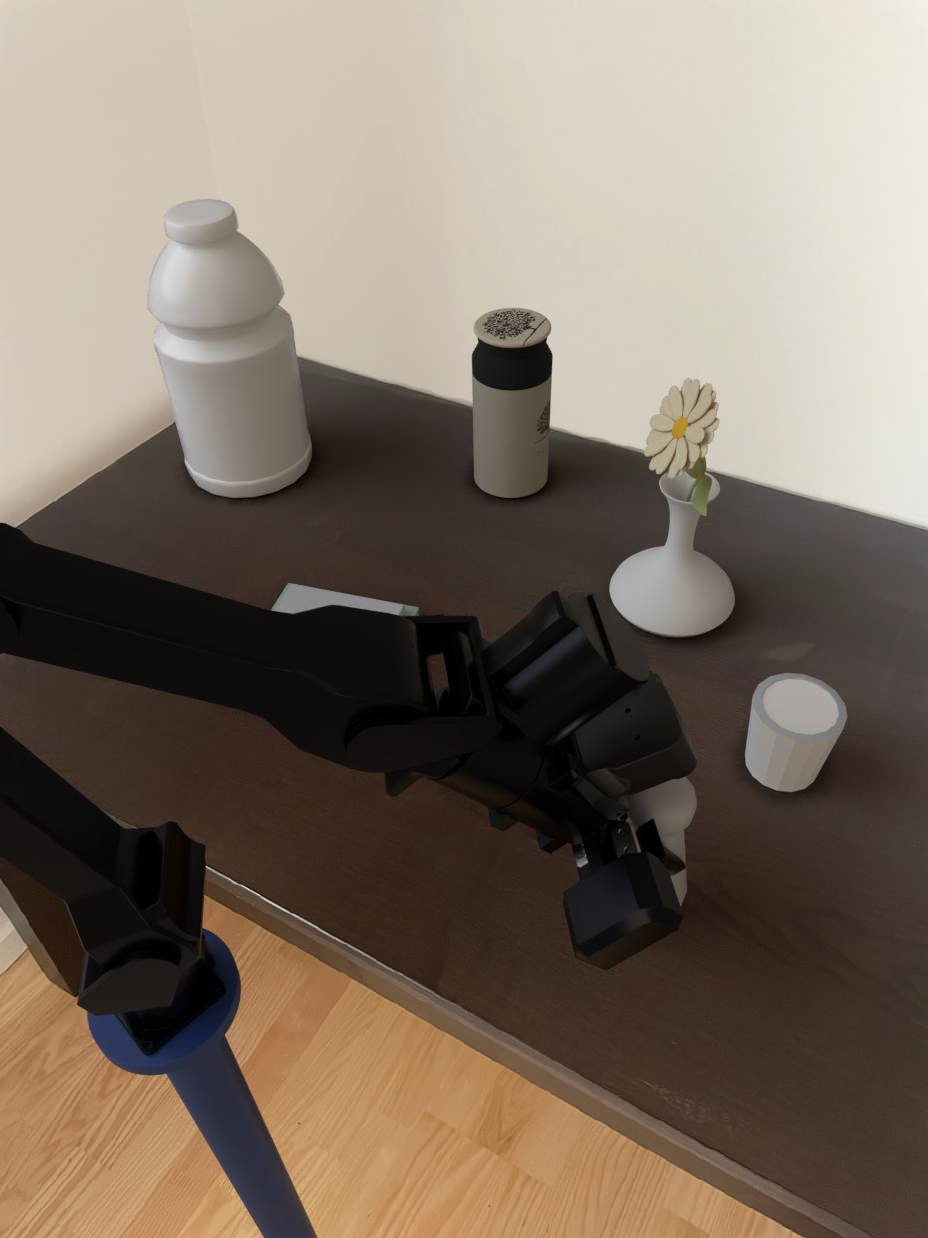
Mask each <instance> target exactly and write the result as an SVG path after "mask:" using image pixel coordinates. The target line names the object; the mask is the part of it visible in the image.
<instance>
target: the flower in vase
mask: <svg viewBox="0 0 928 1238" xmlns="http://www.w3.org/2000/svg"><path fill="white" fill-rule="evenodd" d="M716 398H717V392H716V390H715V389H714V390H713V384H712V383H708V382H706V383H704V384H703V385H702V386H701V383H700V380H699V378H694V379H693V380H692V379H691V378H690V377H687V378H685V379H684V380H683V382H682V385H681V387H680V389H679V387H678V386H677V385H672V386H670V388H669V390H668V392H667V395H666V396H664V397H663V398H662V400H661V405H660V406H659V413H657V414H656V413H655V414H654V415H652V416H651V418H650V420H649V425H650V427H651V430H650V431H649V434H648V435H647V437H646V439H645V443H646V445H647V446H645V448H644V451H643V454H644V456H645V458H649V457H652V458H651V460H650V462H649V465H648V469H649V470H650V471H653V472H654V471H655V473H656V475H660V474H663V473H664V472H665V471H666V472H665V473H664V474H663V475H662V476H661V477H660V478H659V483H658V484H659V488H660V492H662V494H663V495H664V497H665V498H666V500H667V503H668V508H669V527H668V534H667V539H666V542H665V544H664V545H660V546H654V547H650V548H647V549H644V550H642V551H639V552H637V553H635V554H632V555H631V556H629V557H627V558H626V559H625V560H623V561H622V562H621V563H619V565H618V567H617V569H616V570H615V572H614V573H613V574H612V576H611V579H610V582H609V596H610V599H611V601H612V603H613V606H614V607H615V608H616V611H617V612H618V613H619V614H620V616H621V617H622V618H623V617H624V618H623V619H624V620H625V621H628V622H629V623H630V624H631V625H633V626H635V627H637V628H638V629H640V630H642V631H644V632H647V633H649V634H652V635H657V636H660V637H667V638H691V637H696V636H700V635H703V634H706V633H708V632H710V631H713V630H714V629H716V628H718V626H720V625H722V624H723V623H724V622H726V620H727V619H728V618H729V617H730V616H731V614H732V612H733V611H734V607H735V602H736V597H735V596H736V595H735V591H734V587H733V584H732V581H731V580H730V577H729V576H728V574H727V572H726V571H724V570H723V568H722V567H720V565H718V564H717V563H716V562H715V561H714V560H712V559H711V558H710V557H708V556H706V555H705V554H703V553H701V552H698V551H696V550H695V549H694V541H695V534H696V530H697V526H698V523H699V520H700V517H701V515H702V516H703V517H707V514H708V512H707V511H708V504H710V503H711V502H712V501H714V500H715V499H716V498H717V497H718V496H719V494H720V492H721V485H720V482H719V481H718V480H717V478H716V477H715V476H714V475H712V474H710V473H709V472H706V471H707V460H706V455H707V454H708V451H709V446H708V445H710V444H711V443H712V442H713V440H714V438H715V431H716V430H717V429H718V428H719V426H720V419H719V418H718V417H717V414H718V410H719V402H718V401H716Z"/></svg>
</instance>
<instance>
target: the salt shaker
mask: <svg viewBox="0 0 928 1238" xmlns="http://www.w3.org/2000/svg"><path fill="white" fill-rule="evenodd" d="M625 796H626V797H627V800H628V803H629V807H630V811H628V812H626V813H627V815H628V818H627V820H626V821H627V822H629V823H630V824H632V826H633V827H634V828H636V829H637V828H638V827H640V826H642V825H643V824H645V823H646V822H648V821H649V820H651V819H654V820H655V823H656V826H657V829H658V832H659V835H660V838H661V841H662V844H663V846H664V847H665V848H667V849H668V850H670V851H671V852H673V853H674V854H675V855H677V856H678V857H679V858H680V859H681V860H682V861H683V862H684V863H685V866H686V868H685V869H684V870H682V871H681V872H679V873H677V874H676V875H673V876H671V879H672V882H673V885H674V888H675V891H676V894H677V897H678V900H679V903H680V906H681V907H682V906H683V903H684V900H685V898H686V895H687V893H688V879H687V861H686V860H687V859H686V843H685V841H686V840H685V829H687V828H688V827H690V825H691V823H692V821H693V818H694V816H695V813H696V811H697V808H698V799H697V795H696V790H695V787H694V785H692V783H691V782H690V780H689V779H688V778H687V776H686V777H683V778H681V779H673V780H670V781H667V782H665V783H662V784H660V785H657V786H655V787H652V788H649V789H647V790H644V791H642V792H639V793H636V794H633V795H626V794H625Z"/></svg>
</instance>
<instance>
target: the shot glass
mask: <svg viewBox="0 0 928 1238" xmlns="http://www.w3.org/2000/svg"><path fill="white" fill-rule="evenodd" d="M848 717H849V716H848V712H847V706H846V703H845V702H844V700H843V699H842V697H841V696H840V695H839V693H838V692H837V691H836V690H835V689H834V688H832V687H831V686H829V685H828V683H825V682H824V681H823V680H821V679H818V678H815V677H812V676H809V675H807V674H805V673H794V672H793V673H792V672H784V673H783V672H782V673H779V674H774V675H770V676H768V677H766V679H763V681H761V682H760V683H758V684H757V686H756V688H755V690H754V692H753V694H752V700H751V707H750V714H749V720H748V721H749V722H748V729H747V736H746V743H745V751H744V759H745V760H744V761H745V766H746V768H747V770H748V772H749V773H750V775H751V777H752V778H754V779H755V780H756V781H758V782H759V783H760V784H761V785H762V786H765V787H767V788H769V789H772V790H774V791H776V792H785V793H794V792H798V791H802V790H805V789H806V788H808V787H809V786H810V785H811V784H813V783H814V782H815V780H816V778H817V777H818V775H819V773H820V771H821V770H822V769H823V766H824V764H825V762H826V760H827V758H828V757H829V755H830V753H831V751H832V750H833V748H834V746H835V744H836V743H837V741H838V739H839V738H840V735H841V733H842V732H843V730H844V727H845V725H846V723H847V720H848Z"/></svg>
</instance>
